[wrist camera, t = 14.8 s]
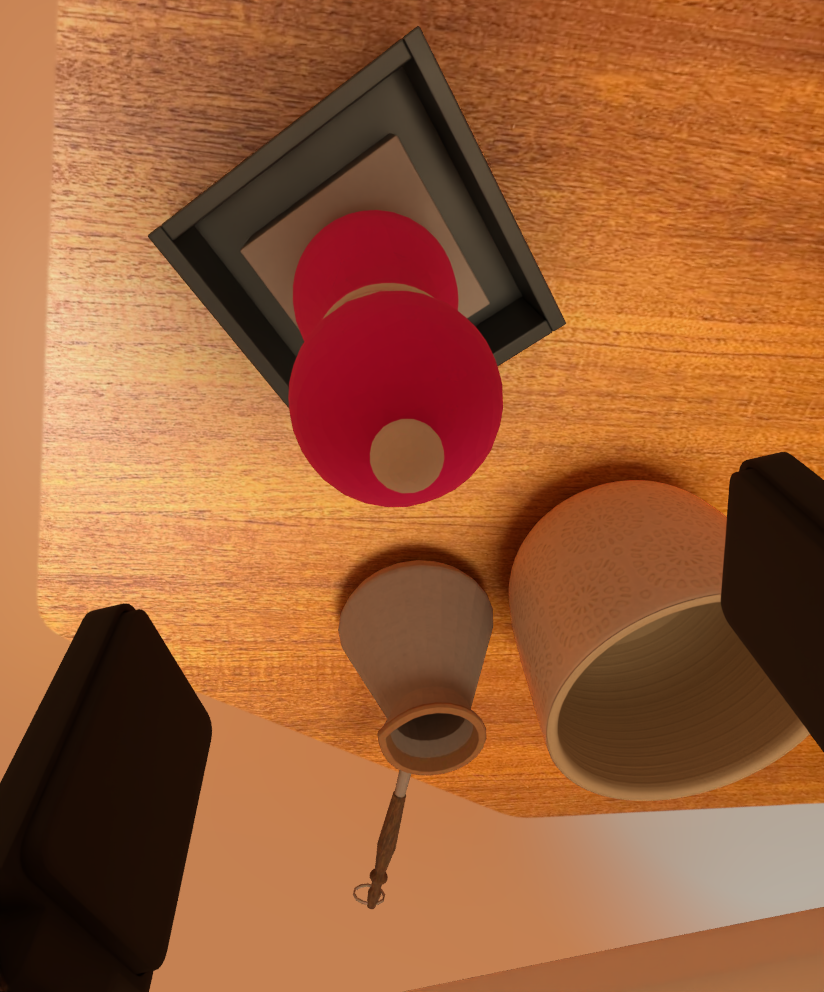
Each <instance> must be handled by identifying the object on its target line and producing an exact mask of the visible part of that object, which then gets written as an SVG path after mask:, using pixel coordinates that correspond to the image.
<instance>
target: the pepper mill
mask: <svg viewBox="0 0 824 992" xmlns="http://www.w3.org/2000/svg"><path fill="white" fill-rule="evenodd" d="M458 302H459V299H458V287H457V283H456V279H455V275H454V272H453V268H452V265H451V262H450V260H449V258H448V256H447V254H446V252H445V250H444V249H443V247H442V246H441V245H440V243H439V242H438V240H437V239H436V238H435V237H434V236H433V235H432V234H431V233H430V232H429V231H428V230H427V229H426V228H425V227H423V226H422V225H420V224H418V223H417V222H415V221H413V220H412V219H410V218H408V217H405V216H403V215H400V214H397V213H394V212H389V211H381V210H366V211H359V212H355V213H351V214H348V215H345V216H343V217H341V218H338V219H336V220H334V221H333V222H331V223H330V224H328V225H327V226H325V227H324V228H323V229H322V230H321V231H320V232H319V233H317V234H316V235H315V236H314V238H313V239H312V240H311V241H310V243H309V244H308V245H307V247H306V248H305V250H304V252H303V254H302V256H301V258H300V260H299V263H298V265H297V268H296V271H295V276H294V282H293V306H294V312H295V318H296V322H297V325H298V327H299V330H300V332H301V335H302V338H303V340H304V341H305V342H304V343H303V345H302V346H301V348H300V350H299V353H298V355H297V358H296V360H295V363H294V365H293V369H292V373H291V377H290V381H289V396H288V400H289V409H290V417H291V422H292V427H293V431H294V434H295V436H296V439H297V441H298V443H299V446H300V448H301V450H302V452H303V454H304V455H305V457H306V458H307V460H308V462H309V463H310V464H311V465H312V467H313V468H314V469H315V470H316V471H317V473H318V474H319V475H320V476H321V477H322V478H323V479H324V480H325V481H326V482H328V483H329V484H330V485H332V486H333V487H335V488H336V489H337V490H339V491H340V492H341V493H343V494H344V495H347V496H349V497H352V498H354V499H356V500H359V501H361V502H364V503H367V504H373V505H378V506H384V507H408V506H412V505H417V504H422V503H425V502H428V501H431V500H434V499H436V498H439V497H441V496H443V495H445V494H447V493H449V492H451V491H453V490H455V489H456V488H457V487H459V486H460V485H461V484H462V483H464V482H465V481H466V480H467V479H469V478H470V477H471V476H472V475H473V473H474V472H475V471H476V470H477V469H478V468H479V466H480V465H481V464H482V463H483V462H484V460H485V459H486V457H487V455H488V454H489V452H490V451H491V449H492V446H493V443H494V441H495V438H496V435H497V432H498V430H499V427H500V422H501V417H502V411H503V395H502V382H501V378H500V374H499V370H498V367H497V363H496V360H495V358H494V356H493V353H492V351H491V349H490V347H489V345H488V343H487V342H486V340H485V338H484V337H483V336H482V334H481V333H480V332H479V330H478V329H477V328H476V327H475V326H474V325H473V324H472V323H471V322H470V321H469V320H468V319H467V318H466V317H465V316H464V315H462V314H461V313H460V312H459V311H458Z"/></svg>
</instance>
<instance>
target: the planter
mask: <svg viewBox="0 0 824 992" xmlns="http://www.w3.org/2000/svg"><path fill="white" fill-rule="evenodd" d="M726 523H727V517H726V516H725V515H724V514H722V513H721V512H720V511H718V510H717V509H715V508H714V507H712V506H711V505H710V504H708V503H707V502H705V501H704V500H702V499H701V498H699V497H697V496H695V495H694V494H692V493H690V492H688V491H686V490H683V489H681V488H678V487H675V486H672V485H669V484H665V483H660V482H654V481H646V480H627V481H617V482H611V483H606V484H602V485H598V486H595V487H592V488H589V489H587V490H584V491H582V492H580V493H577V494H575V495H573V496H572V497H570V498H568V499H566V500H565V501H563V502H561V503H560V504H558V505H557V506H556V507H554V508H553V509H552V510H550V511H549V512H548V513H547V514H546V515H545V516H543V517H542V518H541V519H540V520H539V521H538V523H537V524H536V525H535V526H534V527H533V528H532V530H531V531H530V532H529V534H528V535H527V537H526V538H525V540H524V541H523V543H522V545H521V546H520V548H519V550H518V553H517V555H516V557H515V560H514V563H513V566H512V570H511V575H510V581H509V607H510V614H511V622H512V627H513V632H514V636H515V640H516V644H517V648H518V652H519V655H520V659H521V663H522V666H523V670H524V673H525V676H526V680H527V683H528V686H529V690H530V693H531V697H532V700H533V704H534V707H535V711H536V714H537V718H538V721H539V724H540V728H541V731H542V734H543V737H544V740H545V743H546V746H547V748H548V751H549V753H550V756H551V758H552V760H553V762H554V763H555V765H556V766H557V767H558V769H559V770H560V771H561V772H562V773H563V774H564V775H565V776H566V777H567V778H568V779H570V780H571V781H572V782H574V783H575V784H577V785H578V786H580V787H582V788H584V789H586V790H588V791H591V792H593V793H596V794H599V795H603V796H606V797H611V798H616V799H623V800H634V801H656V800H668V799H676V798H682V797H687V796H692V795H696V794H700V793H704V792H708V791H711V790H714V789H717V788H720V787H723V786H726V785H729V784H731V783H734V782H736V781H738V780H741V779H743V778H745V777H747V776H749V775H751V774H753V773H755V772H757V771H759V770H761V769H763V768H765V767H766V766H768V765H770V764H771V763H773V762H775V761H776V760H778V759H779V758H781V757H782V756H784V755H785V754H786V753H788V752H789V751H791V750H792V749H793V748H794V747H796V746H797V745H798V744H799V743H800V742H802V741H803V740H804V739H805V738H806V737H807V736H808V735H809V734H810V733H809V732H808V730H807V729H806V728H805V726H804V725H803V724H802V722H801V721H800V720H799V718H798V717H797V715H796V714H795V713H794V711H793V710H792V709H791V707H790V706H789V705H788V703H787V702H786V701H785V699H784V698H783V697H782V695H781V694H780V693H779V691H778V690H777V689H776V687H775V686H774V684H773V683H772V682H771V680H770V679H769V678H768V676H767V675H766V674H765V672H764V671H763V670H762V668H761V667H760V666H759V664H758V663H757V662H756V660H755V659H754V658H753V656H752V655H751V653H750V652H749V651H748V649H747V648H746V647H745V645H744V644H743V643H742V641H741V640H740V639H739V637H738V636H737V635H736V633H735V632H734V631H733V629H732V628H731V627H730V625H729V624H728V622H727V621H726V619H725V616H724V614H723V611H722V607H721V588H722V575H723V562H724V549H725V536H726Z"/></svg>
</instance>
